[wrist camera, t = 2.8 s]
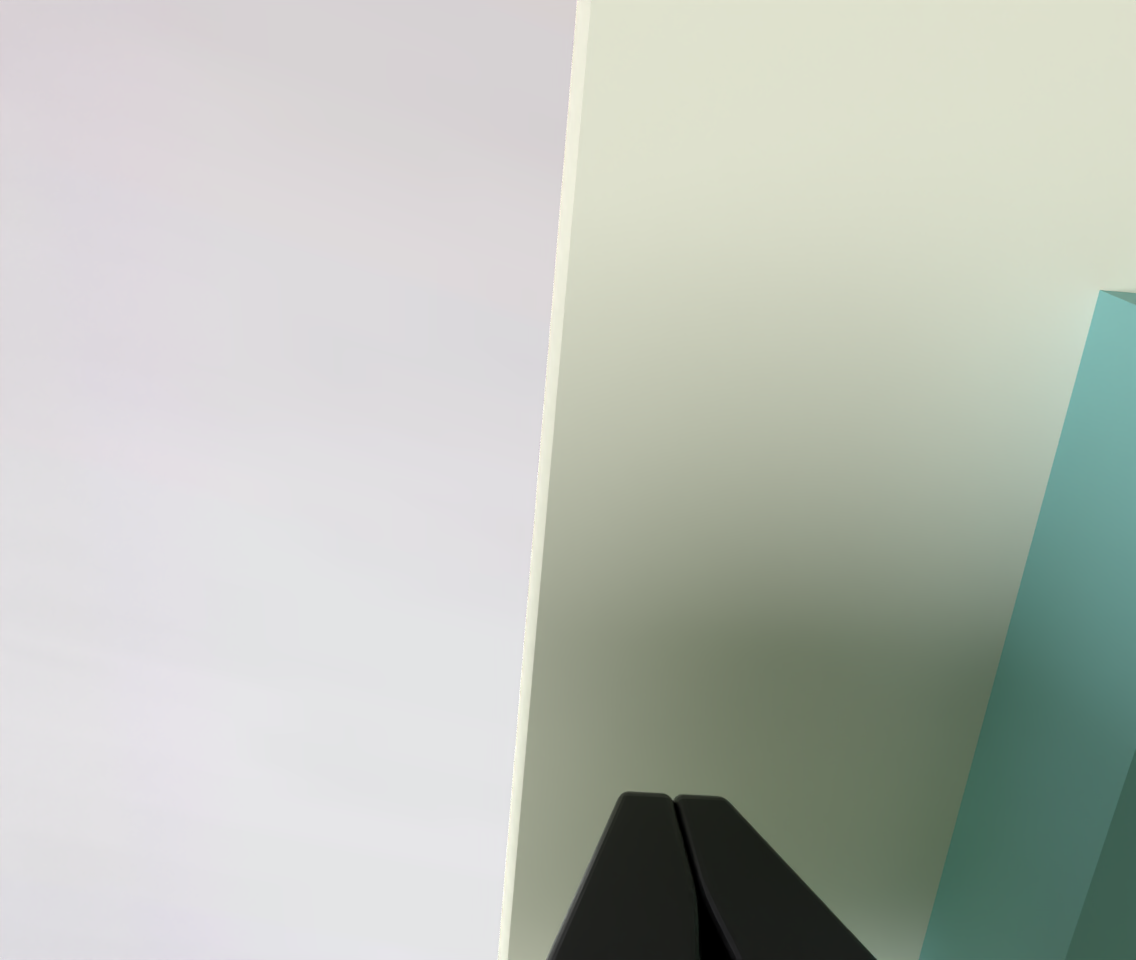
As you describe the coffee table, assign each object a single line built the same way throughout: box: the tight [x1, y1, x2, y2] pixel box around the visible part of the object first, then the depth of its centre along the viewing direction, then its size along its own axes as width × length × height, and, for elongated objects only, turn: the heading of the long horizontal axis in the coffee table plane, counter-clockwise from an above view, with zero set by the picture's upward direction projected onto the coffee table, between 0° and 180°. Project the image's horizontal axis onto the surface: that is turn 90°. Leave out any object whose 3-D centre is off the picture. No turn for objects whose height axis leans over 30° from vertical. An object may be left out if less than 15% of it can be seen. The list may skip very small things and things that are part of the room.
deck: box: [498, 0, 1136, 960], centre depth 12 cm, size 20×12×4 cm, turn 175°
